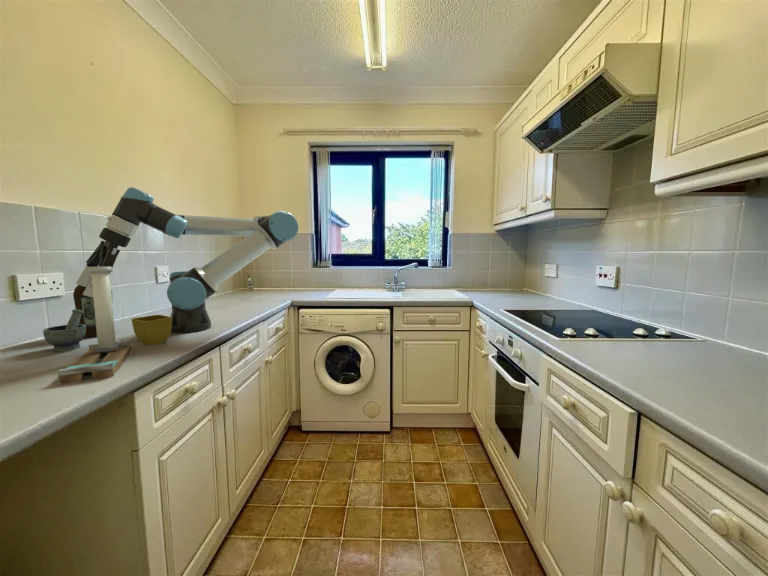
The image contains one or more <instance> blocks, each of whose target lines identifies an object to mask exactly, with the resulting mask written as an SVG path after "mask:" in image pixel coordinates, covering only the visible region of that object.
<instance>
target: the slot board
mask: <svg viewBox="0 0 768 576" xmlns="http://www.w3.org/2000/svg"><path fill="white" fill-rule="evenodd" d="M116 343H120V347H119V348H118V349H117V350H116V351H106V352H97V353H94V350H93V349H94V348H96V347H97V346H98V343H92V344H88V349H87V350H86V351H85V352H84V353H82V354H81V356H79V357H78V358H77V359H76V360H74V361H73V363H71V364H70V365H68V366H67V367H65V368H60V369H59V370H57V375H58V376H57V377H58V384H59V385H62V384H68V383H69V384H70V383H77V382H84V381H89V380H90V379H91V380H97V378H98V379H104V378H105V377H106V378H112V377H111V376H113V377H115V375H116V374H115V373H118V371H119V369H120V368H121V367H120V366H122V365H123V364H124V362H125V361H126V360H127V358H128V357H129V355H130V354H131V353H132V351H133V345H132V340H122V341H116ZM130 352H131V353H130ZM127 356H128V357H127ZM125 359H126V360H125ZM122 363H123V364H122ZM117 370H118V371H117ZM114 374H115V375H114Z"/></svg>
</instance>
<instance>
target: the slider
mask: <svg viewBox="0 0 768 576" xmlns="http://www.w3.org/2000/svg"><path fill="white" fill-rule="evenodd" d="M88 272H91V275H92V286H93V297H94V308H95V319H96V331H97V337H96V340H97V342H96V343H97V344H98V346H97V347H96V348H94V349H93V350H94V353H97V352H106V351H116V350H117V349H118V348H119V347H120V343H116V342H117V341H116V331H115V320H114V319H115V318H114V308H113V307H114V306H113V292H112V293H111V291H112V284H111V283H112V282H111V281H112V280H111V273H112V272H113V268H112V267H108V266H102V267H88ZM110 272H111V273H110Z"/></svg>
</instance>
